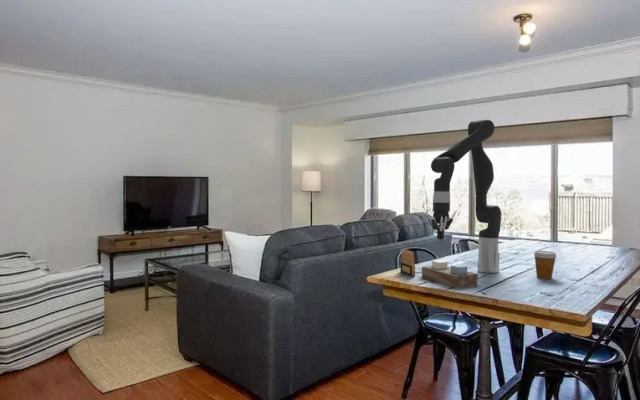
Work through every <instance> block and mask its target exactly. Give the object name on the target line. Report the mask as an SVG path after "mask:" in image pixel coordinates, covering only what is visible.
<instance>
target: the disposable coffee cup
mask: <svg viewBox="0 0 640 400" xmlns="http://www.w3.org/2000/svg"><path fill="white" fill-rule="evenodd" d="M533 255H534V260H535V262H534V263H535V271H536V278H538V279H543V280H551V278H553V273H554V268H555V263H556V258H557V254H556V252H553V251H548V250H546V251H545V250H536V251H535V250H534V253H533Z"/></svg>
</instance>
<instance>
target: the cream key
mask: <svg viewBox="0 0 640 400" xmlns="http://www.w3.org/2000/svg"><path fill="white" fill-rule="evenodd" d="M431 266H432V268H436V269H447V266H448V261H445V260H441V259H438V260H437V259H436V260H432V261H431Z"/></svg>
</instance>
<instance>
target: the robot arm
mask: <svg viewBox="0 0 640 400" xmlns="http://www.w3.org/2000/svg"><path fill="white" fill-rule="evenodd" d="M494 132H495V124H494V122H493V121H492V120H491V119H487V118H485V119H484V118H483V119H476V120H472V121H470V122H469V123H468V126H467V136H465V137H463V138H462V139H460V140H458V141H456V142H455V143H454V144H453V145H452V146H450V147H449V148H448V149H447V150H446V151H444V152H442V153H440V154H438V155H437V156H435V157H434V158H433V159H432V161H431V163H430V169H431V171H432V172H434V173H436V174H440V176H439V177H438V178H436V179H434V181H433V195H432V211H433V214H432V217H431V218H429V219H428V222H429V224H430V225H431V227H432V229H433V230H435V231H436V238H437V239H438V240H440V241H441V240H444V238H445V231H446V230H449V228H450V227H451V225H452V223H453V221H454V219H453V218H451V217H450V214H449V213H450V211H451V181H452V179H453V174H454V171H455V163H458V162H459V161H460V160H461V159H462V158H463V157H464V156H465V155H467V154H468V153H469V152H470V151H471V152H470V153H471V158H472V159H471V160H472V169H473V170H472V171H473V181H474V189H475V190H474V191H475V192H474V194H475V218H476V220H477V221H478V222H479V223H482V224H487V227H486V228H484V229H481V230H479V232H478V249H477V251H478V252H477V254H478V257H477V271H478V272H481V273H486V274H496V273H498V272H500V252H499V238H500V237H499V235H500V232H501V223H502V209H501V207H500V206H498V205H494V204H488V203H487V202H488V201H487V200H488V199H487V195H488V192H489V190H490V188H491V186H492V185H493V183H494V182H493V181H494V178H495V173H494V165H493V162H492V160H491V159H490V157H489V156H488V154H487V153H486V151H485V150H484V147H483V142H484V141H485V142H486V140H487V139H490V138H491V137H492V136H493V135H494Z"/></svg>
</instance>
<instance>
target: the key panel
mask: <svg viewBox="0 0 640 400" xmlns="http://www.w3.org/2000/svg"><path fill="white" fill-rule="evenodd" d="M478 277H479V274H478V273H475V272H471V271H468V270H467V274H461V275H458V274H454V273H451V266H448V265H447V269H436V268H432V265H428V266H421V278H422V279H425V280H428V281H432V282H435V283H439V284H441V285H445V286H447V287H448V286H449V287H450V288H454V289H461V288H469V287H477V286H479V285H478V284H479V283H478V279H479V278H478Z"/></svg>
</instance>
